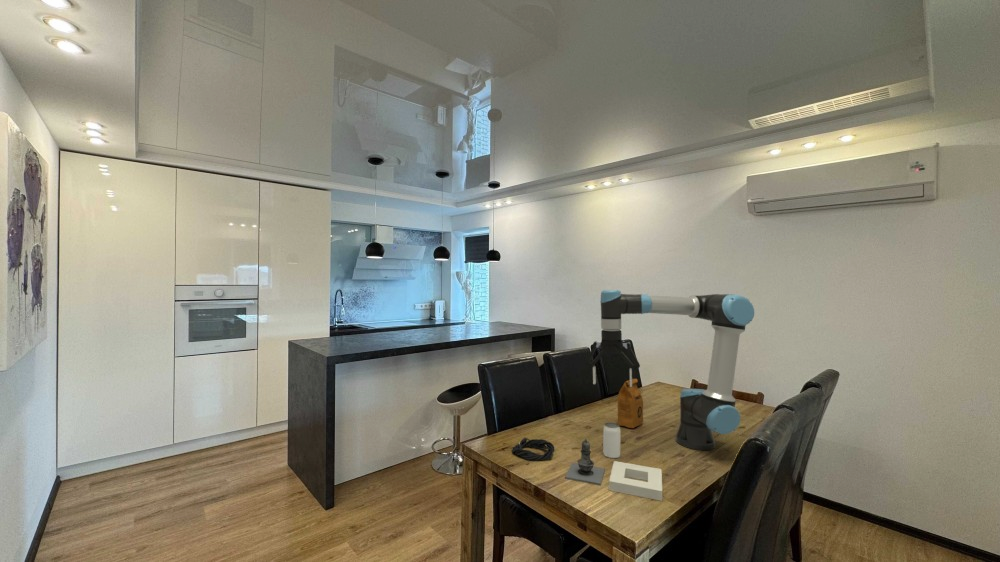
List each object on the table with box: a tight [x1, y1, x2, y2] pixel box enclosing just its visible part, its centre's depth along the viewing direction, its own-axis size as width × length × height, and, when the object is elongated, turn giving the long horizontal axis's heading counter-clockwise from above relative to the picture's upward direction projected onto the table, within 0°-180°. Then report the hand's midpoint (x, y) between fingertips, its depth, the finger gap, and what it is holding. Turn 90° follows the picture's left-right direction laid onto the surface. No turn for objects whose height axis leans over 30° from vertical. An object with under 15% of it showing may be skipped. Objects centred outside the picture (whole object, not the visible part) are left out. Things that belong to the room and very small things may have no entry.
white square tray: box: [608, 460, 663, 502], centre depth 131 cm, size 16×16×3 cm
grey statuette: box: [576, 438, 595, 476], centre depth 137 cm, size 6×6×12 cm
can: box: [602, 421, 621, 459], centre depth 153 cm, size 6×6×12 cm
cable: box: [511, 437, 555, 461], centre depth 154 cm, size 17×14×4 cm
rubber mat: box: [564, 462, 606, 486], centre depth 137 cm, size 12×12×1 cm
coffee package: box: [617, 378, 644, 429], centre depth 188 cm, size 10×12×22 cm
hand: (612, 384), depth 149 cm, fingers open, 13 cm apart
